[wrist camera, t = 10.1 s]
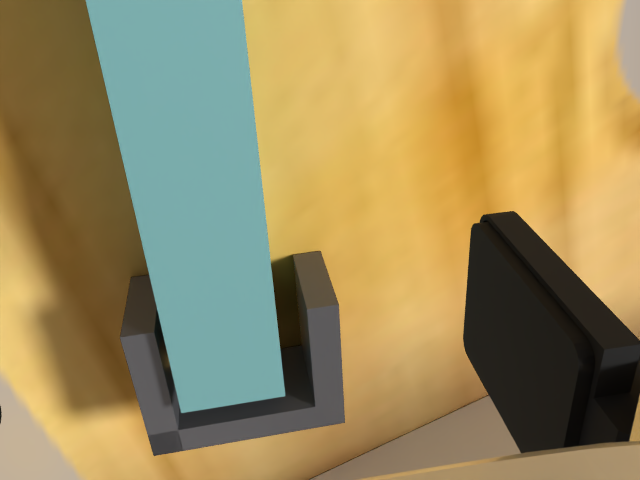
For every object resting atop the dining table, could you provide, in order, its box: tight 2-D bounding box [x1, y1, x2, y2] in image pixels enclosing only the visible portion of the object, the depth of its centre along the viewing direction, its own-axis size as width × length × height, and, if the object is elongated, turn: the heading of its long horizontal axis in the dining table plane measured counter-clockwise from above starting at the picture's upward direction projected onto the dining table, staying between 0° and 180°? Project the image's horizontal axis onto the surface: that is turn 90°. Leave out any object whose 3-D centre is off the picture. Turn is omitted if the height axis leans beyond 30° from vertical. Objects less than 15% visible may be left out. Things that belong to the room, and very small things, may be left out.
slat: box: [86, 0, 285, 413], centre depth 20 cm, size 4×22×5 cm, turn 3°
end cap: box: [120, 251, 345, 456], centre depth 25 cm, size 8×6×4 cm
